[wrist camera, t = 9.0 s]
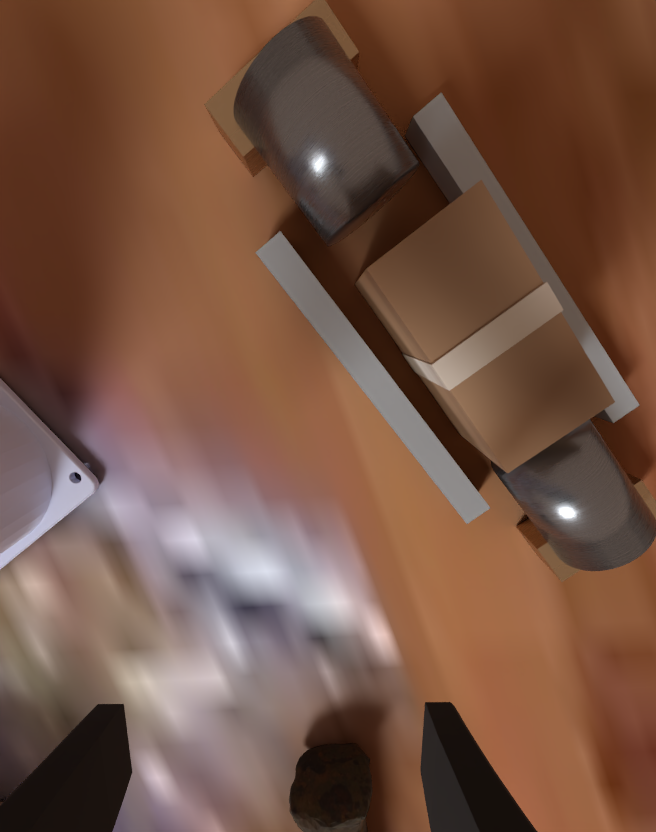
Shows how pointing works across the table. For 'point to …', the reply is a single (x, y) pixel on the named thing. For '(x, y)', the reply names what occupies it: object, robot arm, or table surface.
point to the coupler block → (484, 332)
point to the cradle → (454, 174)
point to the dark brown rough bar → (332, 789)
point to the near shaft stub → (315, 125)
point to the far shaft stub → (581, 505)
